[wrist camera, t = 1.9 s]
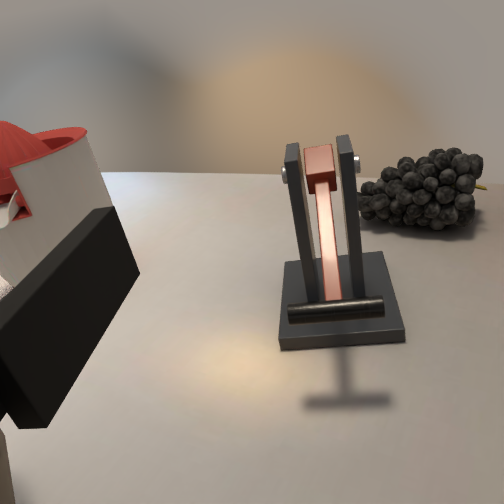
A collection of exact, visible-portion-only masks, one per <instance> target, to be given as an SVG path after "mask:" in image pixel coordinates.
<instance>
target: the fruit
mask: <svg viewBox="0 0 504 504" xmlns="http://www.w3.org/2000/svg"><path fill="white" fill-rule="evenodd" d="M397 168H398V169H396V168H393V167H387V168H384V169H383V171H382V172H381V178H380V179H378V180H377V182H376V183H373V182H370V181H369V182H366V183H363V184H362V186H361V192H362V193H360V192H357V199H358V210H359V211H361V212H360V213H361V216H362V217H363V218H364V219H366V220H368V221H369V220H372V219H374V218H375V216H376V217H377V218H378V219H381V220H385V219H387V218H388V217H389V216H390V217H389V222H390V224H391V225H394V226H399V225H401V224H402V222H403V220H404V222H405V223H406V224H408V225H414V224H415V223H416V222H417V223H418V224H419V225H421V226H427V225H429V226H430V227H431V228H432V229H434V230H442V229H443V228H444V227H445V225H446V224H447V225H448V224H454V223H456V225H458V226H466V225H469V224H470V223H471V222H472V220H473V218H474V216H475V207H474V206H475V200H474V197H473V195H471V194H472V193H473V191H474V189H475V188H477V189H482V190H487V189H486V187H484V186H480V185H476V179H478V178H480V177H481V174H482V170H483V158H482V157H480V156H479V155H477V154H471V155H467V154H462V152H461V150H460V149H458V148H450V149H448V150H447V151H446V152H445V151H444V150H443V149H435V150H432V151H431V152H430V153H429V157H421V158H419V159H418V161H417V162H416V163H414V160H413V159H411V158H410V157H403V158H402V159H400V160H399V162H398V166H397ZM416 169H417V170H416ZM454 183H455V184H454Z"/></svg>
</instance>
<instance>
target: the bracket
mask: <svg viewBox="0 0 504 504" xmlns="http://www.w3.org/2000/svg"><path fill="white" fill-rule="evenodd" d="M336 143H337V152H338V162H339V171H340V181H341V191H342V200H343V210H344V219H345V229H346V239H347V248H348V255H341V256H338V264H339V272H340V281H341V289H342V298H353V297H363V296H374V295H382V296H383V299H384V305H385V318H378V319H365V320H353V321H341V322H329V323H317V324H304V325H292V326H290V325H289V322H288V316H287V304H288V303H298V302H309V301H320V300H325V293H324V282H323V272H322V261H321V258H316V257H315V250H314V243H313V237H312V230H311V223H310V216H309V210H308V203H307V196H306V189H305V183H304V176H303V169H302V162H301V156H300V149H299V143H292V144H287V146H286V154H285V160H284V165H285V166H282V167H281V173H282V180H283V183H284V184H288V189H289V195H290V200H291V206H292V212H293V218H294V224H295V230H296V236H297V242H298V248H299V254H300V260H297V261H288V262H285V266H284V278H283V290H282V302H281V314H280V325H279V337H278V340H279V344H280V349H281V350H289V349H303V348H317V347H331V346H345V345H360V344H374V343H388V342H402V341H405V328H404V324H403V321H402V317H401V314H400V311H399V307H398V304H397V300H396V297H395V293H394V290H393V286H392V283H391V280H390V276H389V273H388V269H387V266H386V262H385V259H384V255H383V252H382V251H377V252H368V253H362V246H361V234H360V222H359V211H358V199H357V187H356V176H355V174H356V173H360V161H359V160H360V159H359V155H354V153H353V149H352V145H351V142H350V138H349V135H341V136H337V137H336Z"/></svg>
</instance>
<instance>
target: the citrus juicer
mask: <svg viewBox="0 0 504 504" xmlns="http://www.w3.org/2000/svg"><path fill="white" fill-rule="evenodd" d="M86 134H87V130H85V129H84V128H81V127H70V128H62V129H56V130H50V131H45V132H40V133H36V134H30V133H28V132H27V131H25V130H23V129H21V128H19V127H17V126H16V125H13V124H11V123H8V122H6V121H0V275H1V276H2V277H3V278H4V279H5V280H6V281H7V282H8V283H9V284H10V285H12V286H13V288H15V287H16V286H17V285H18V284H19V283H20V282H21V281H22V280H23V279H24V278H25V277H26V276H27V275H28V274H29V273H30V272H31V271H32V270H33V269H34V268H35V267H36V266H37V265H38V264H39V263H40V262H41V261H42V260H43V259H44V258H45V257H46V256H47V255H48V254H49V253H50V252H51V251H52V250H53V249H54V248H55V247H56V246H57V245H58V244H59V243H60V242H61V241H62V240H63V239H64V238H65V237H66V236H67V235H68V234H69V233H70V232H71V231H72V230H73V229H74V228H75V227H76V226H77V225H78V224H79V223H80V222H81V221H82V220H83V219H84V218H85V217H86V216H87V215H88V214H89V213H90V212H91V211H92V210H93V209H96V208H103V207H110V206H113V204H112V201H111V198H110V196H109V193H108V191H107V188H106V185H105V183H104V180H103V178H102V175H101V173H100V170H99V168H98V165H97V162H96V160H95V158H94V155H93V152H92V150H91V147H90V145H89V142H88V140H87V137H86Z"/></svg>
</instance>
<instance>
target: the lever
mask: <svg viewBox="0 0 504 504" xmlns="http://www.w3.org/2000/svg"><path fill="white" fill-rule="evenodd" d="M304 160H305V172H306V179H307V185H308V190H309V194H315V196H316V207H317V218H318V229H319V239H320V250H321V261H322V272H323V282H324V293H325V300H320V301H309V302H298V303H288V304H287V316H288V322H289V325H290V326H292V325H304V324H317V323H329V322H341V321H353V320H365V319H378V318H385V305H384V299H383V296H382V295H374V296H363V297H353V298H342V289H341V281H340V272H339V264H338V255H337V246H336V238H335V229H334V221H333V212H332V203H331V195H330V192H331V191H337V184H336V173H335V165H334V157H333V149H332V144H329V145H322V146H316V147H311V148H304Z"/></svg>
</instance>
